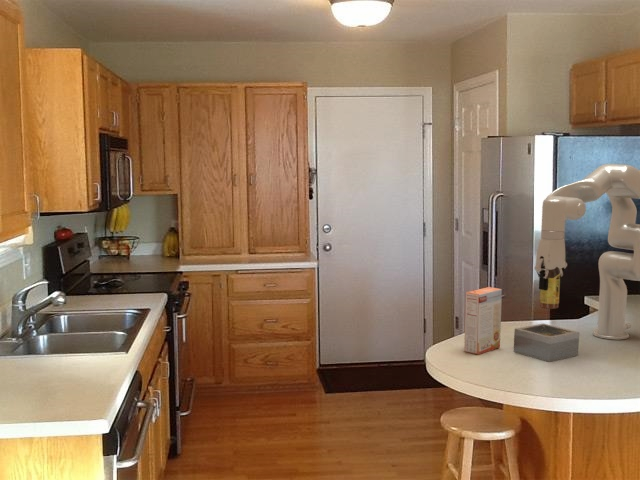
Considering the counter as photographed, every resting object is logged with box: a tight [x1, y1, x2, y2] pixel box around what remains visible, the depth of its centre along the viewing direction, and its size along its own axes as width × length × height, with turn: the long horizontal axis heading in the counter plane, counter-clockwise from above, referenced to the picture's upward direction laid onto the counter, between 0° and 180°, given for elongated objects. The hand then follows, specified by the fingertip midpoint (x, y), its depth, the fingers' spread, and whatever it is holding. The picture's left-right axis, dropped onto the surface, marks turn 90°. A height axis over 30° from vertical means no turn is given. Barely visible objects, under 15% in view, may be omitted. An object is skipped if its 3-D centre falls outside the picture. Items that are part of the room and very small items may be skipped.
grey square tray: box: [513, 323, 580, 363], centre depth 266 cm, size 17×15×8 cm
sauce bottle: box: [539, 267, 561, 310], centre depth 263 cm, size 6×6×20 cm
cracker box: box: [463, 286, 503, 356], centre depth 268 cm, size 14×6×21 cm, turn 134°
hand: (549, 288), depth 263 cm, fingers closed on sauce bottle, 6 cm apart
